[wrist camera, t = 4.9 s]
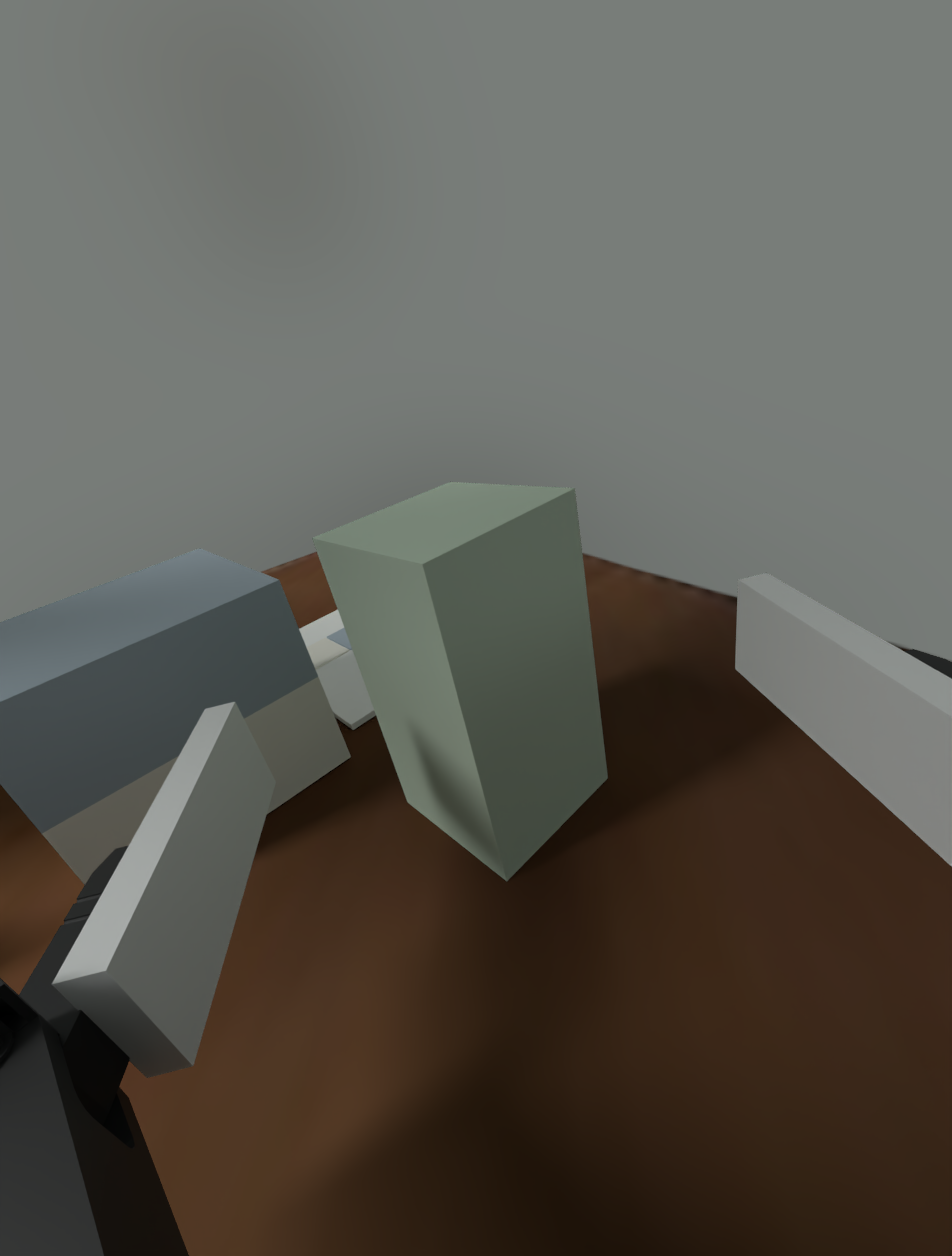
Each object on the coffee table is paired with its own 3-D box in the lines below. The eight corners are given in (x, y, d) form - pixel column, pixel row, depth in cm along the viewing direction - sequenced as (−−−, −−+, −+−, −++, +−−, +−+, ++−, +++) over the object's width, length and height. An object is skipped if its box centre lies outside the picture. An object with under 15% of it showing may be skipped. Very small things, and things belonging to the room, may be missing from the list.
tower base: (76, 793, 23) (-42, 637, 20) (266, 689, 28) (199, 548, 24) (113, 919, 17) (-51, 723, 13) (351, 756, 22) (279, 579, 18)
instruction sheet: (252, 657, 32) (250, 651, 32) (375, 595, 37) (373, 590, 36) (353, 730, 23) (350, 723, 23) (496, 636, 28) (494, 629, 28)
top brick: (407, 802, 19) (312, 537, 14) (504, 725, 22) (450, 482, 17) (507, 881, 15) (422, 564, 11) (608, 778, 18) (574, 488, 13)
